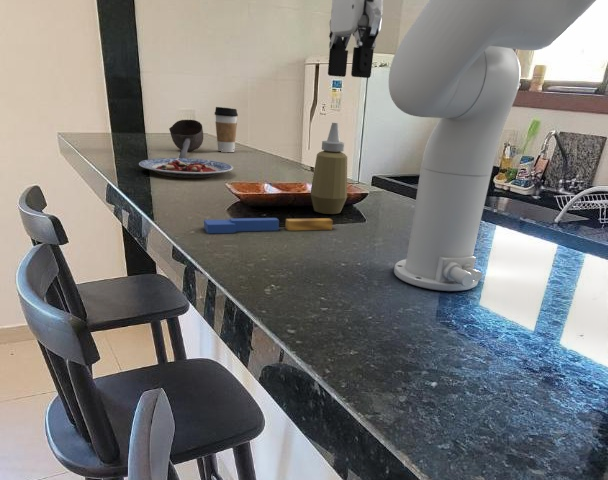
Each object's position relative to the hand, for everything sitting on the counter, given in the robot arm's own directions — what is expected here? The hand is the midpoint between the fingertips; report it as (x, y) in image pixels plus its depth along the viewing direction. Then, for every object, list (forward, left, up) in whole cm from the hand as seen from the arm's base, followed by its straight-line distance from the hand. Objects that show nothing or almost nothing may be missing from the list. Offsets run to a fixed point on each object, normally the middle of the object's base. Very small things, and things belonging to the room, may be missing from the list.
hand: (348, 76), depth 88 cm
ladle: (+102, +12, -26) cm, 106 cm away
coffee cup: (+116, -5, -26) cm, 119 cm away
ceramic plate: (+67, +17, -26) cm, 74 cm away
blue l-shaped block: (+4, +16, -26) cm, 31 cm away
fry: (+4, +4, -26) cm, 27 cm away
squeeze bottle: (+18, -6, -26) cm, 33 cm away
